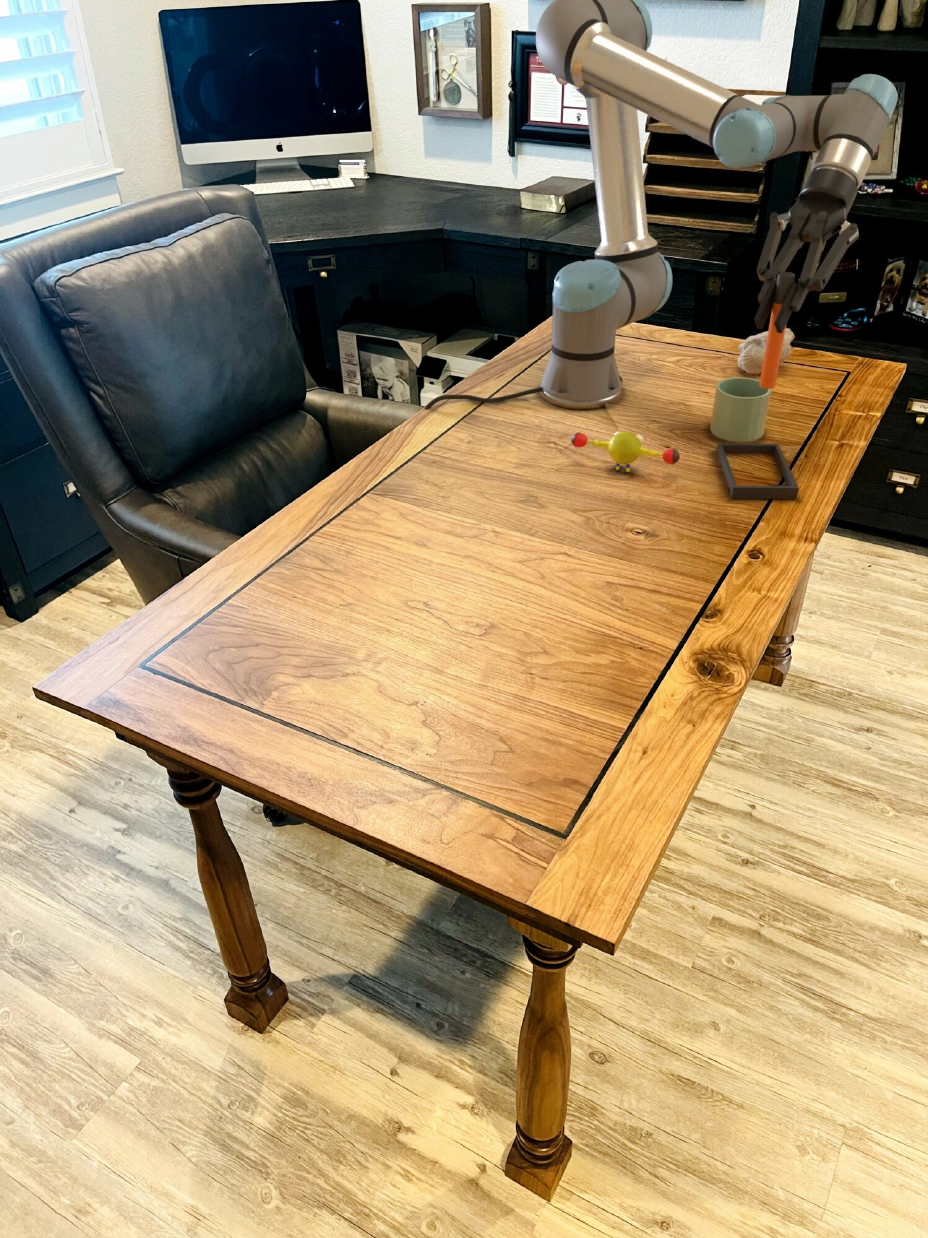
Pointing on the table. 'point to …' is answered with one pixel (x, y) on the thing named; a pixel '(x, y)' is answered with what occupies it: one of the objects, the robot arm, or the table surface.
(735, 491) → the pen tray
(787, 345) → the fossil replica
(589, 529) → the table surface
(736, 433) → the pen cup
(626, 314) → the robot arm
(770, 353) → the marker
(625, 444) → the toy figure
